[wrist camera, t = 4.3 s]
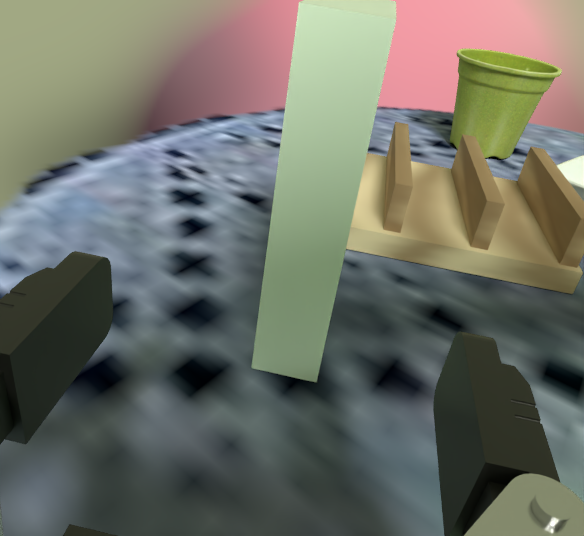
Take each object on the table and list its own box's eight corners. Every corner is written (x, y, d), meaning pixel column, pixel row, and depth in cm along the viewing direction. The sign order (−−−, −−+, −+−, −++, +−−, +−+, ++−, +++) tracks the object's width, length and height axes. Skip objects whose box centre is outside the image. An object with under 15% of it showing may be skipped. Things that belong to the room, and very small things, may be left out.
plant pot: (514, 175, 49) (551, 77, 44) (418, 145, 53) (443, 52, 48) (536, 153, 56) (569, 66, 51) (450, 128, 60) (474, 45, 55)
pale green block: (331, 297, 28) (395, 1, 21) (316, 382, 22) (396, 19, 15) (279, 286, 28) (324, -11, 21) (251, 368, 23) (299, 2, 15)
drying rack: (523, 200, 44) (545, 147, 41) (572, 294, 32) (606, 226, 29) (318, 161, 45) (327, 107, 42) (290, 237, 33) (301, 168, 30)
